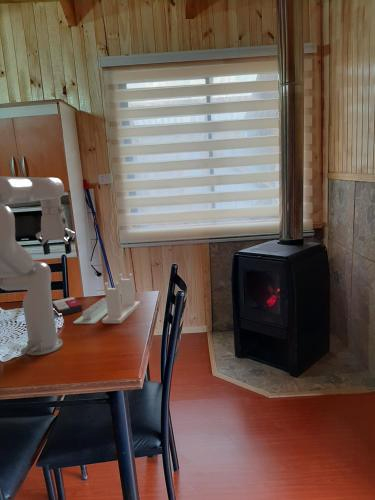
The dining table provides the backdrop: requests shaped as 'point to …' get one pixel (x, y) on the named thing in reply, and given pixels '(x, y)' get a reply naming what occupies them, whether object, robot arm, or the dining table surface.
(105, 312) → the mat
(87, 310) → the rail
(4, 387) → the dining table surface
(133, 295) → the rack
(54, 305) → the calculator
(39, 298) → the robot arm
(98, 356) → the dining table surface
